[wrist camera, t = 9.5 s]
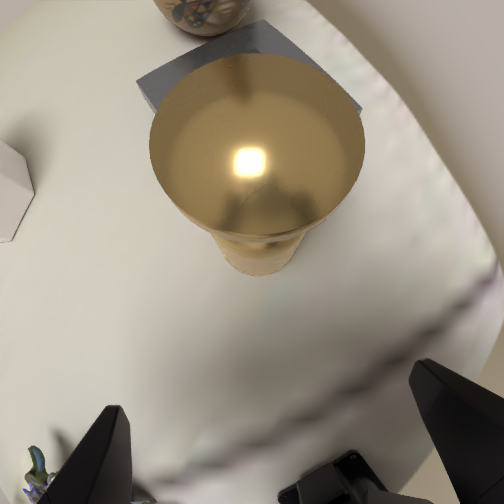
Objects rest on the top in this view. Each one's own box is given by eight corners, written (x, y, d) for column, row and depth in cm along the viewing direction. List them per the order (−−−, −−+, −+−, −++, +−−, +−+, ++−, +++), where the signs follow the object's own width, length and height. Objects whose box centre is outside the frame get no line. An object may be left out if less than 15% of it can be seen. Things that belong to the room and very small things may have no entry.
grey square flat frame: (353, 126, 22) (362, 108, 20) (220, 208, 21) (215, 194, 19) (263, 39, 24) (263, 19, 22) (144, 99, 23) (135, 80, 21)
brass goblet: (322, 245, 21) (405, 150, 8) (250, 303, 20) (236, 285, 7) (265, 177, 22) (271, 31, 9) (194, 230, 21) (115, 123, 8)
